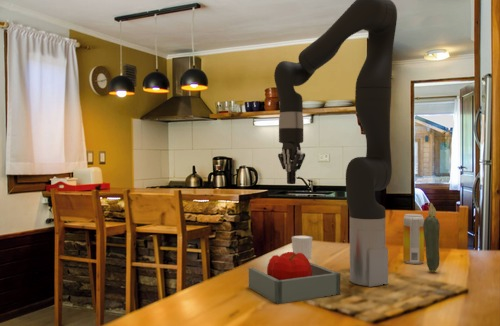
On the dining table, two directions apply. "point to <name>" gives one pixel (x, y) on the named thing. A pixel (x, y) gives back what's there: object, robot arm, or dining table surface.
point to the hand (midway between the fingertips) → (291, 183)
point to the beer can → (413, 238)
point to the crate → (295, 285)
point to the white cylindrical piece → (302, 245)
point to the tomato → (289, 266)
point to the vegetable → (432, 239)
